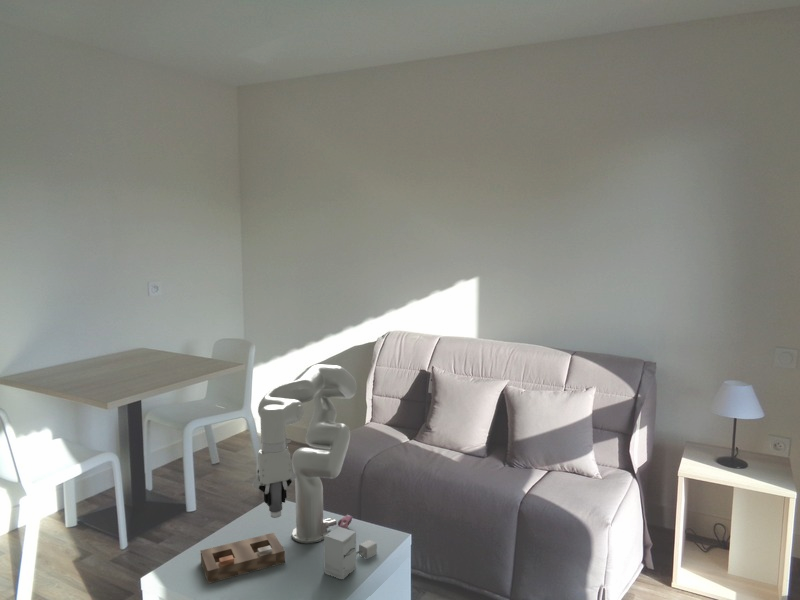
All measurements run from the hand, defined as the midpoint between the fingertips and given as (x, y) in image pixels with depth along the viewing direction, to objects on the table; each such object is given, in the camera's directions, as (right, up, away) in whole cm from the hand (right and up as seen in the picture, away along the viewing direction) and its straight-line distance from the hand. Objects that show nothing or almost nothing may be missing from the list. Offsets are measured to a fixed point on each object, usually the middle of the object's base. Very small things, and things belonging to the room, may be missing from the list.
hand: (275, 502), depth 180 cm
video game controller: (+18, -21, +27) cm, 39 cm away
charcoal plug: (0, -4, 0) cm, 4 cm away
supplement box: (+20, -23, +3) cm, 31 cm away
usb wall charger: (+27, -22, +12) cm, 37 cm away
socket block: (-12, -23, +8) cm, 27 cm away
